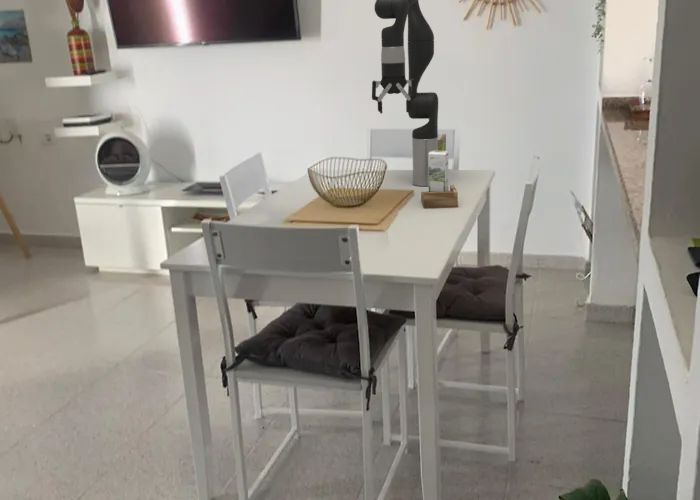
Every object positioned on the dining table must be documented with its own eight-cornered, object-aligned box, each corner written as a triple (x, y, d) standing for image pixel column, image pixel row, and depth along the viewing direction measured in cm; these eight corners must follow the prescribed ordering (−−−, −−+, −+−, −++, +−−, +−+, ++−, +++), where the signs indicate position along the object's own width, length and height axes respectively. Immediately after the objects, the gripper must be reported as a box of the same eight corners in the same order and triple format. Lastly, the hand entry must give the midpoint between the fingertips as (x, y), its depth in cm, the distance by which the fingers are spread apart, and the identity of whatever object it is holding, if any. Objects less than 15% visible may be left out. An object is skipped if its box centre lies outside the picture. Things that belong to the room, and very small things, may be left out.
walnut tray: (421, 200, 253) (420, 185, 251) (453, 199, 252) (453, 184, 251) (423, 208, 242) (423, 193, 241) (457, 207, 242) (457, 192, 240)
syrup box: (448, 193, 248) (448, 150, 244) (445, 197, 243) (445, 153, 238) (431, 192, 250) (431, 149, 245) (428, 196, 244) (427, 153, 240)
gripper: (414, 59, 240) (415, 110, 245) (370, 61, 241) (372, 112, 246) (416, 61, 233) (417, 113, 238) (370, 62, 234) (372, 115, 239)
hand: (394, 112), depth 242 cm, fingers open, 8 cm apart
